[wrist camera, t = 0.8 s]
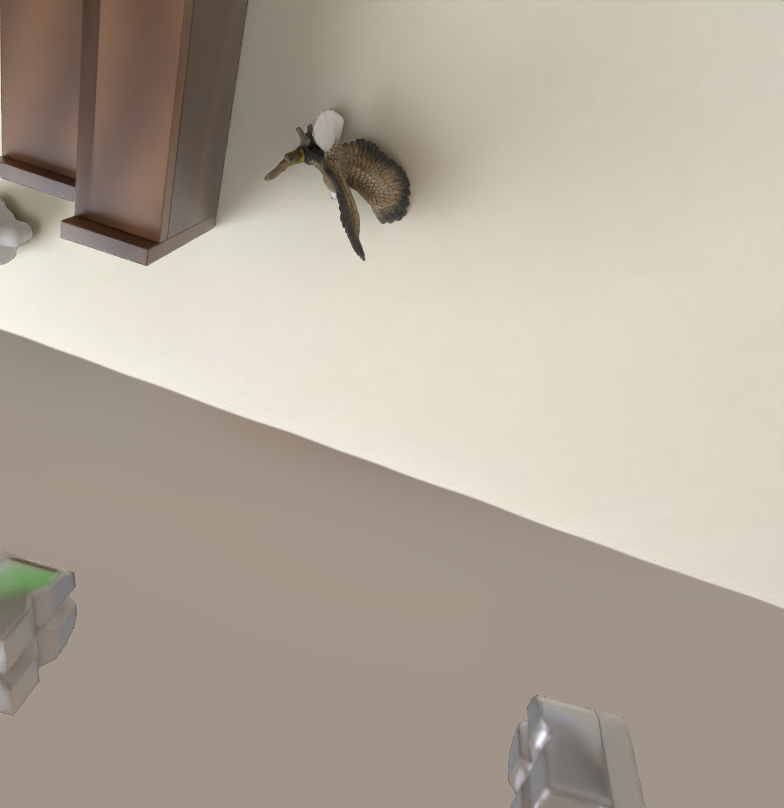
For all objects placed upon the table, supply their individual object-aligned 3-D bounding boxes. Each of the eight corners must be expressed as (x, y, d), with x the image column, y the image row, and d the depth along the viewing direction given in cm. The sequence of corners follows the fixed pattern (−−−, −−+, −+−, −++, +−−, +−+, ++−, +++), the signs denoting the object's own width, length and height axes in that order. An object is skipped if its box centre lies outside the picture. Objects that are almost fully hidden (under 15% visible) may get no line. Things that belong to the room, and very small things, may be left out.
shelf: (27, 166, 52) (-86, 189, 42) (27, -147, 42) (-121, -215, 32) (214, 228, 52) (147, 266, 42) (258, -69, 42) (184, -112, 32)
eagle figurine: (269, 200, 49) (358, 275, 49) (256, 157, 42) (361, 245, 42) (333, 129, 50) (421, 203, 50) (331, 75, 43) (434, 161, 43)
